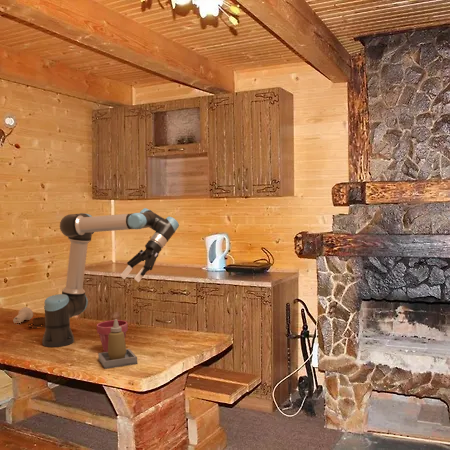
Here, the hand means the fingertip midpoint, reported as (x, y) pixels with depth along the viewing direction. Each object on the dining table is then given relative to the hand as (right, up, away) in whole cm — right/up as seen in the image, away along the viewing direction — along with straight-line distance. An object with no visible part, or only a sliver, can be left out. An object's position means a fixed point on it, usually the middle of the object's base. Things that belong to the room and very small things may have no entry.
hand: (129, 279), depth 247 cm
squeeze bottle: (-2, -34, -15) cm, 37 cm away
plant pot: (-8, -34, +3) cm, 35 cm away
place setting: (-58, -33, +53) cm, 85 cm away
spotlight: (-75, -32, +66) cm, 105 cm away
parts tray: (-2, -35, -15) cm, 38 cm away
